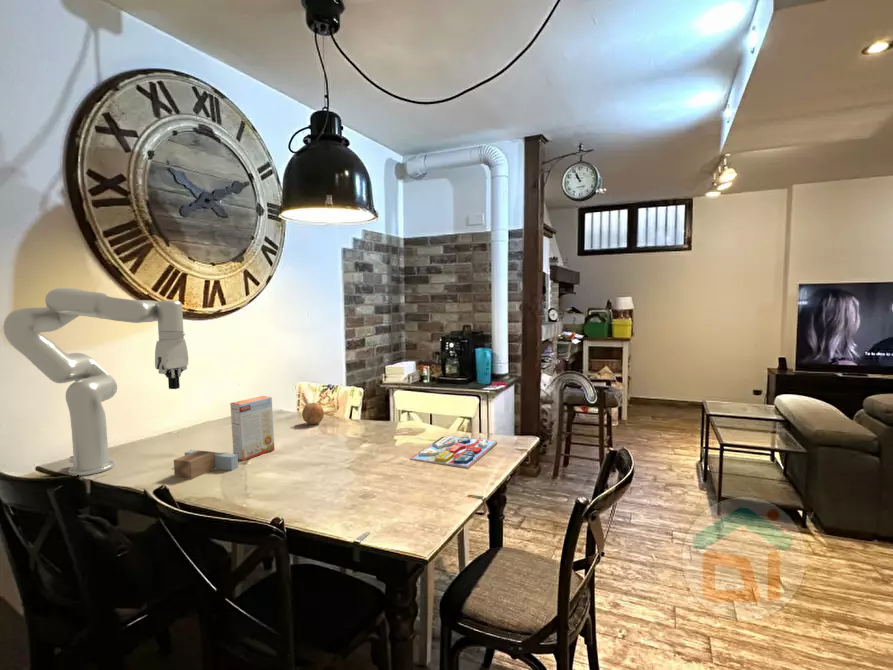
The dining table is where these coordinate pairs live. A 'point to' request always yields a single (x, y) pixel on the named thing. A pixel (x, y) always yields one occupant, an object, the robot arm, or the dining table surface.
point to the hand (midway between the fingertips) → (174, 388)
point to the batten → (223, 460)
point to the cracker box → (252, 427)
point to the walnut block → (194, 464)
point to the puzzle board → (455, 451)
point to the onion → (313, 413)
